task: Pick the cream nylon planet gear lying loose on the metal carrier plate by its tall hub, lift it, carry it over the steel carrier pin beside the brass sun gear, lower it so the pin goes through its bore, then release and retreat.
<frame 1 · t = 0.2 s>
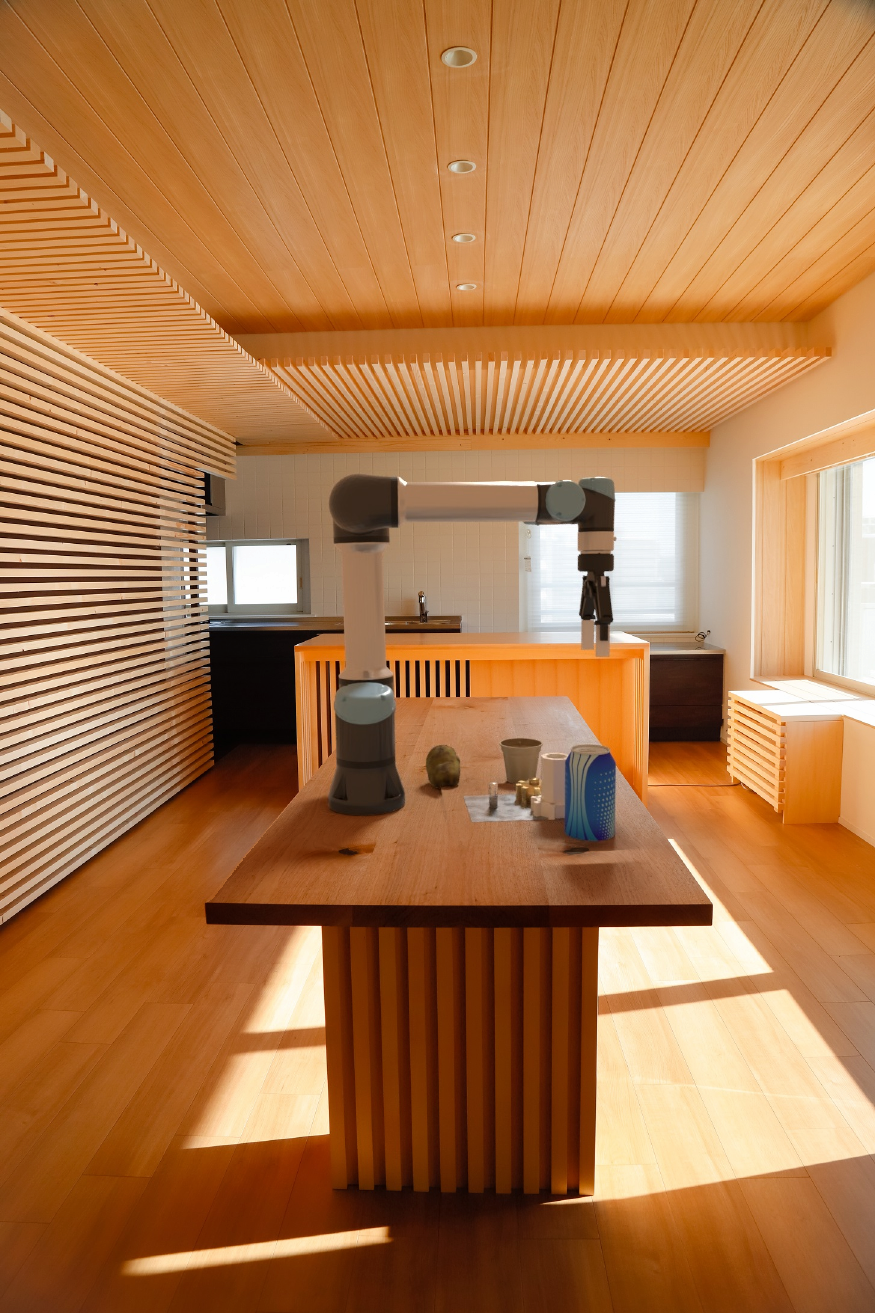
hand: (594, 653, 172), 28 cm above the table, fingers open, 13 cm apart
carrier: (525, 814, 152), on the table
flower pot: (521, 782, 174), on the table
beer can: (589, 841, 137), on the table
planet gear: (556, 812, 148), point 1 cm above the table, touching carrier
potato: (443, 786, 172), on the table
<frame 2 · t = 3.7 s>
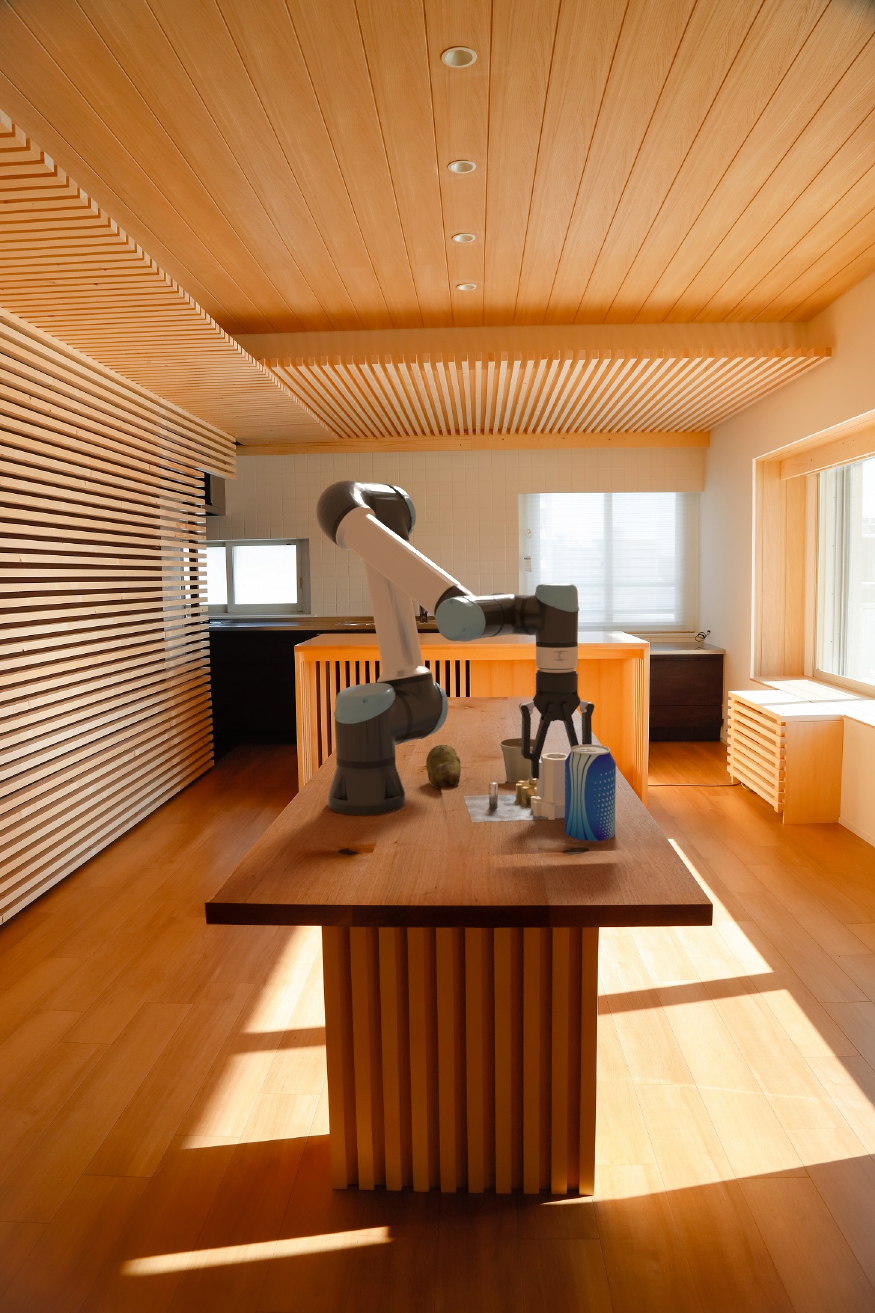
hand: (556, 794, 147), 5 cm above the table, fingers closed on planet gear, 5 cm apart
planet gear: (556, 812, 148), point 2 cm above the table, touching carrier, gripper
everything else where it was.
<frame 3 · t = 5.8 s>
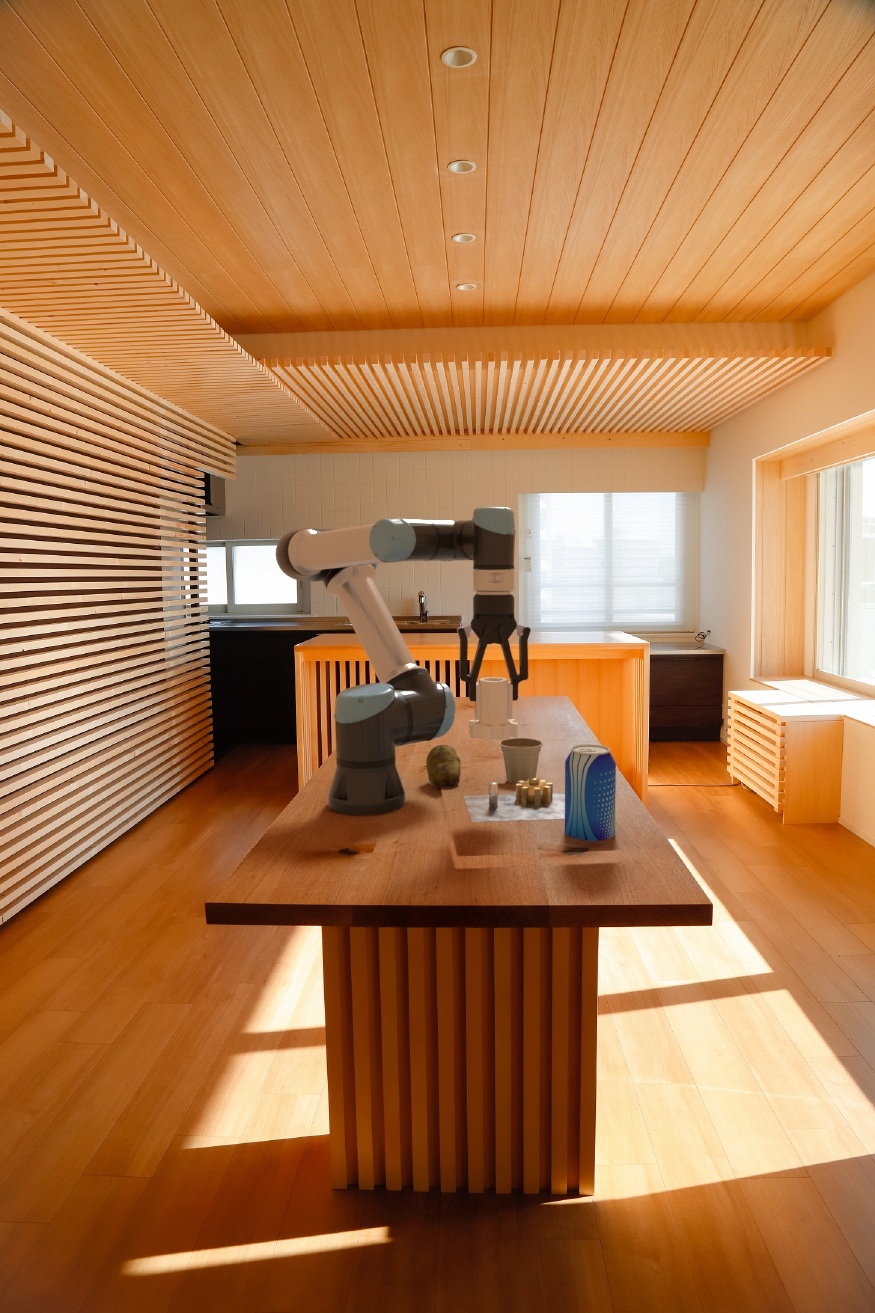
hand: (493, 717, 150), 19 cm above the table, fingers closed on planet gear, 5 cm apart
planet gear: (493, 735, 150), point 15 cm above the table, touching gripper
everything else where it was.
when the fingers open (6 cm above the table, at t = 7.8 s): planet gear drops 1 cm, resting on carrier.
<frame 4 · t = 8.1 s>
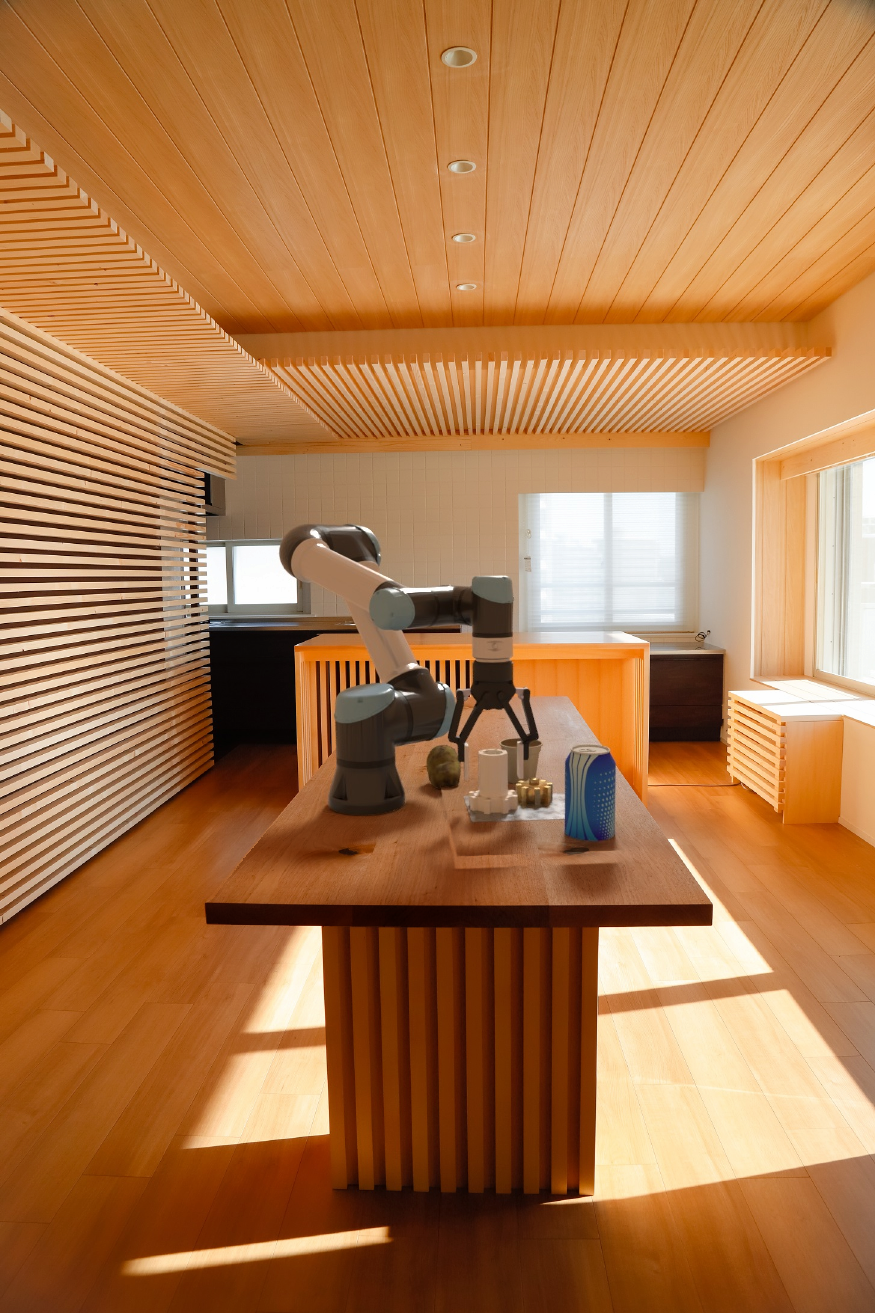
hand: (493, 777, 151), 7 cm above the table, fingers open, 9 cm apart
planet gear: (493, 806, 151), point 1 cm above the table, touching carrier
everything else where it was.
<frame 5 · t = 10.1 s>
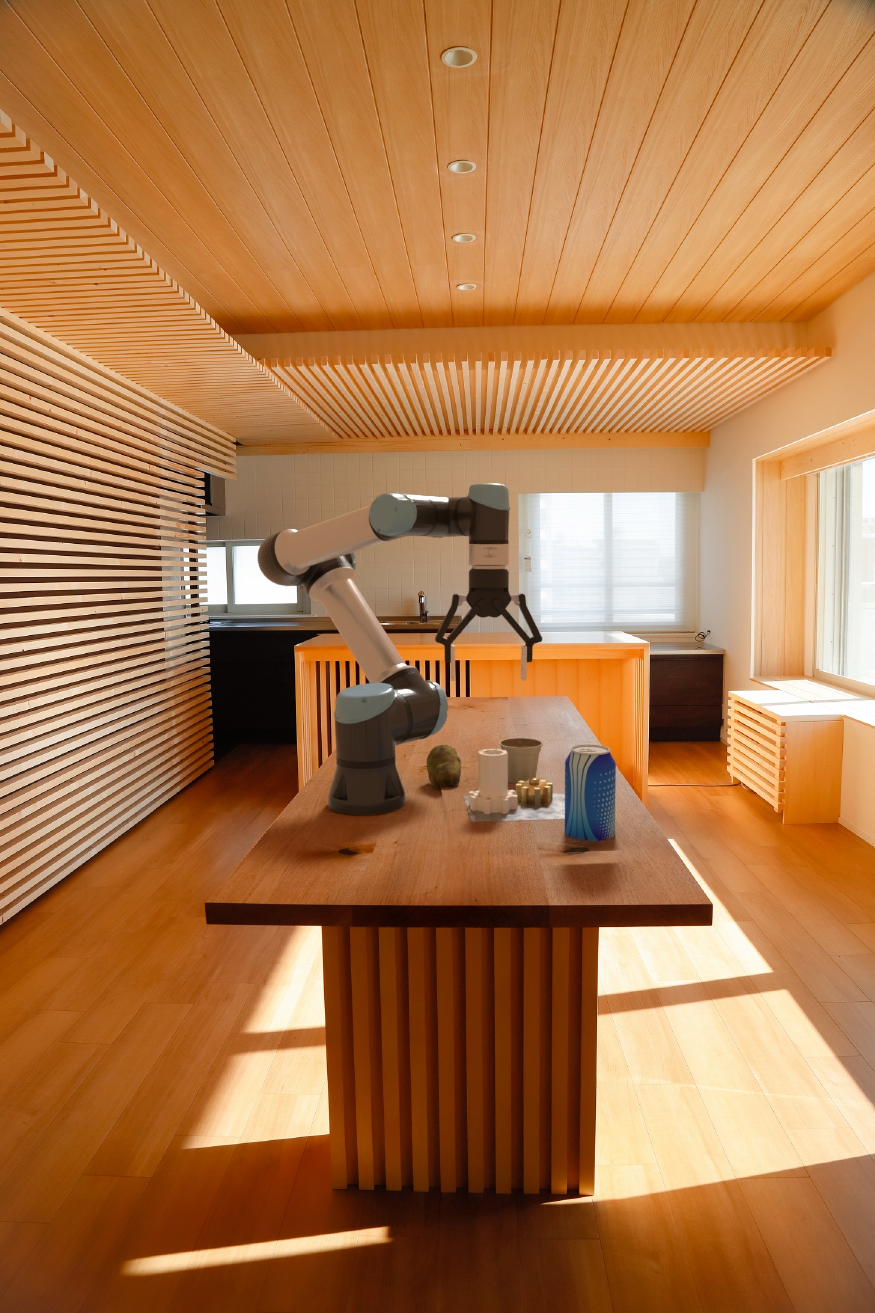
hand: (488, 679, 154), 25 cm above the table, fingers open, 13 cm apart
nothing on the table moved.
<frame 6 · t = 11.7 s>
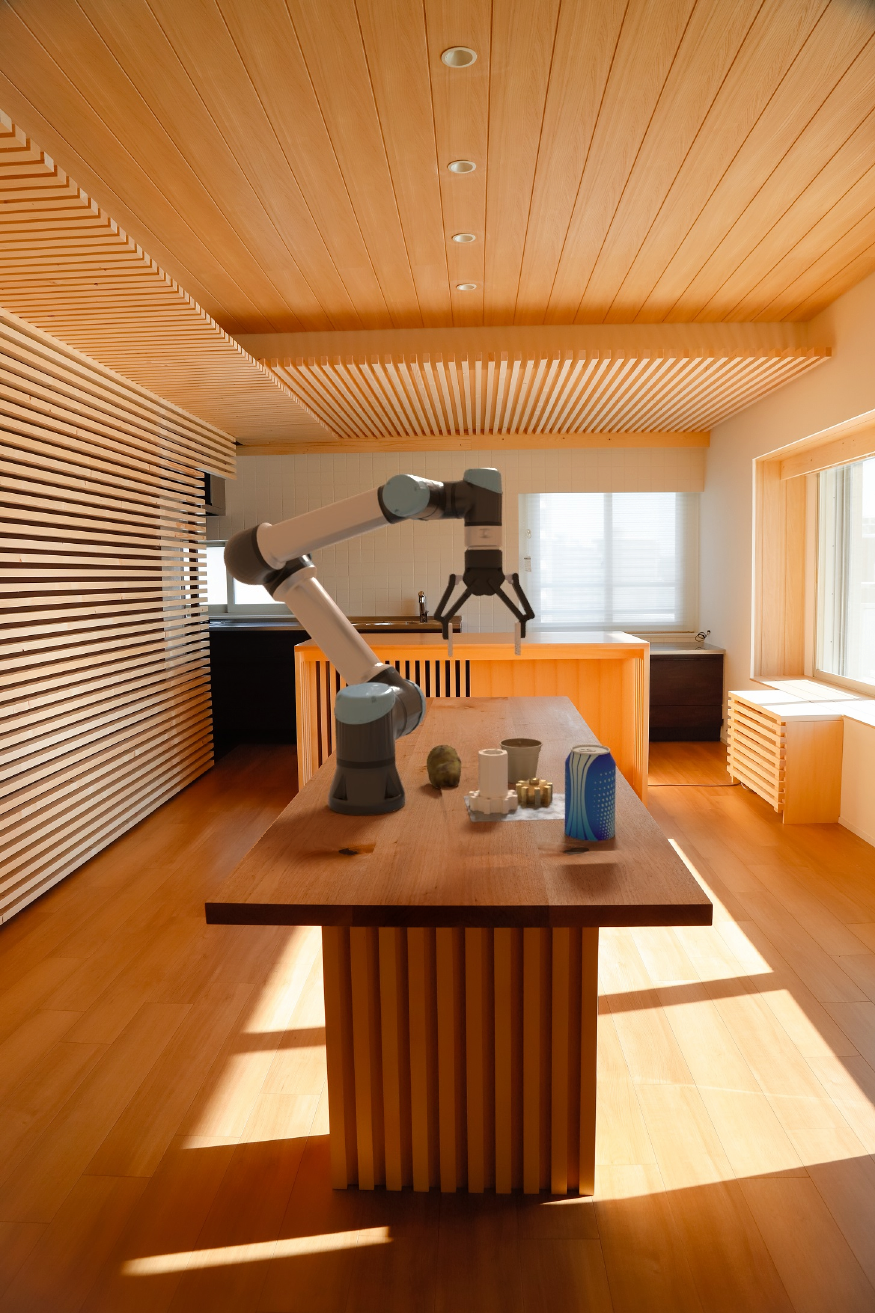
hand: (484, 655, 161), 29 cm above the table, fingers open, 13 cm apart
nothing on the table moved.
at the end: planet gear 0.0 cm from the target spot on the carrier, point 1.5 cm above the carrier's base; planet gear tilted 0°; the gripper is holding nothing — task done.
